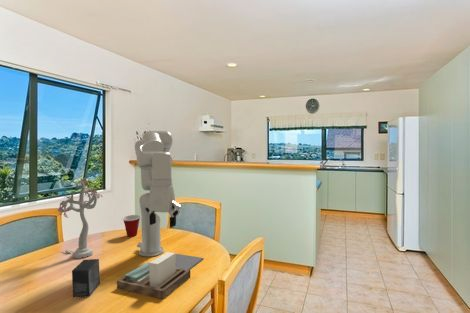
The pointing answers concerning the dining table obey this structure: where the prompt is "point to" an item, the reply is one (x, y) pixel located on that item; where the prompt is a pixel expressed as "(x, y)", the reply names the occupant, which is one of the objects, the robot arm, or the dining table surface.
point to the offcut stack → (139, 274)
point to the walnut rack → (162, 289)
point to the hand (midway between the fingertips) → (162, 225)
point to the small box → (85, 278)
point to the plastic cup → (131, 224)
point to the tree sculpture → (83, 249)
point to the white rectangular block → (162, 269)
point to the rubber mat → (186, 261)
